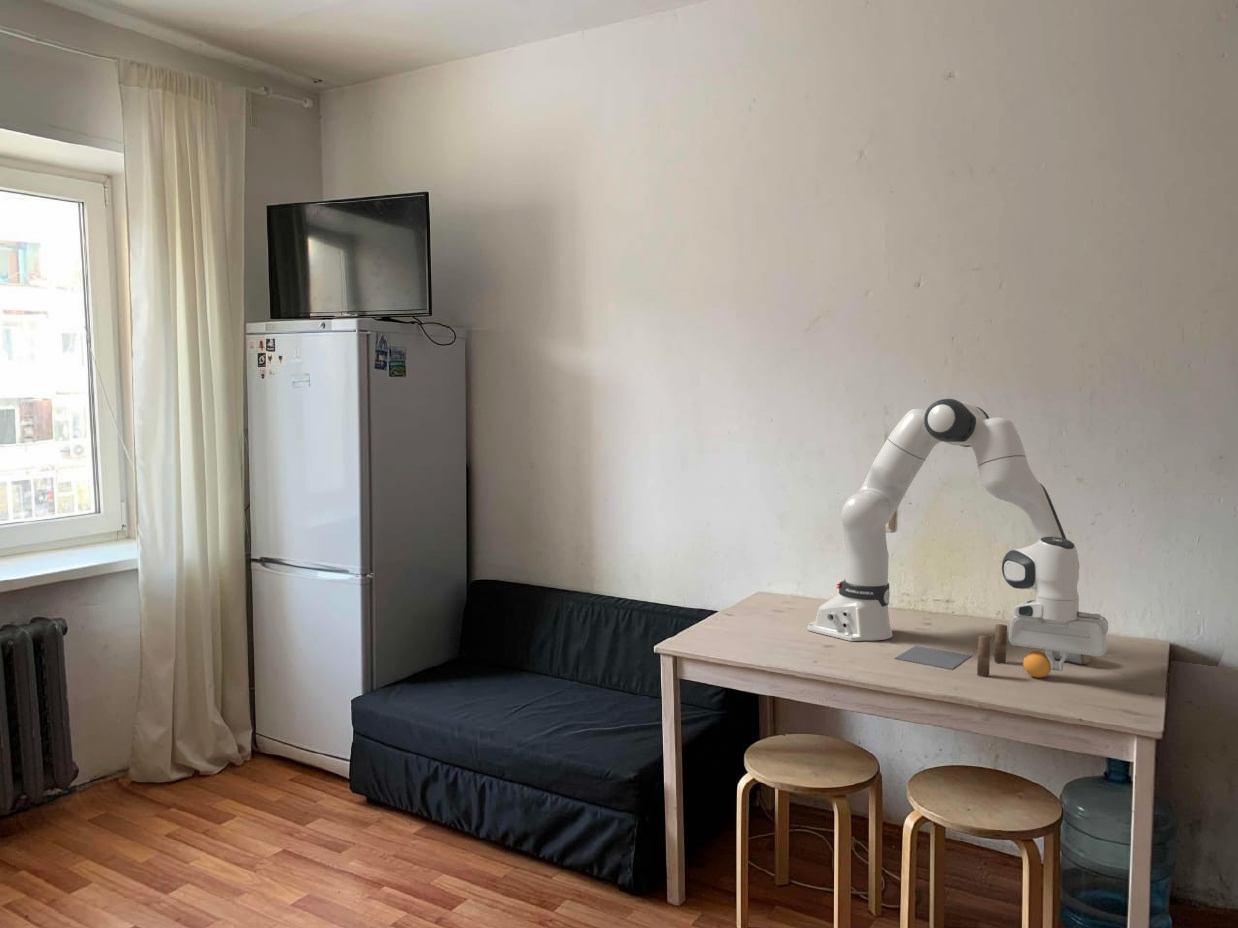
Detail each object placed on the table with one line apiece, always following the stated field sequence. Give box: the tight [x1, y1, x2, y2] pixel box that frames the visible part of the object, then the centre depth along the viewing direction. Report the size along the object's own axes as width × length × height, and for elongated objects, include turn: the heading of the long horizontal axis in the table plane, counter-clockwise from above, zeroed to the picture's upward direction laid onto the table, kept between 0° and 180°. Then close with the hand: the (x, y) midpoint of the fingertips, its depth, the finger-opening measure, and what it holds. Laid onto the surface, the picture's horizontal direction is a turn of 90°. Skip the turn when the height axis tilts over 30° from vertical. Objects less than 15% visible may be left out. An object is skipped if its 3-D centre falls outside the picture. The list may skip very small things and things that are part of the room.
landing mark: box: [894, 645, 972, 670], centre depth 229 cm, size 14×14×1 cm
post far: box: [993, 623, 1008, 664], centre depth 225 cm, size 3×3×9 cm
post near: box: [976, 635, 991, 678], centre depth 215 cm, size 3×3×9 cm
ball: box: [1022, 650, 1052, 679], centre depth 214 cm, size 6×6×6 cm
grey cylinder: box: [1052, 651, 1093, 665], centre depth 227 cm, size 11×8×8 cm
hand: (1056, 669), depth 211 cm, fingers closed
